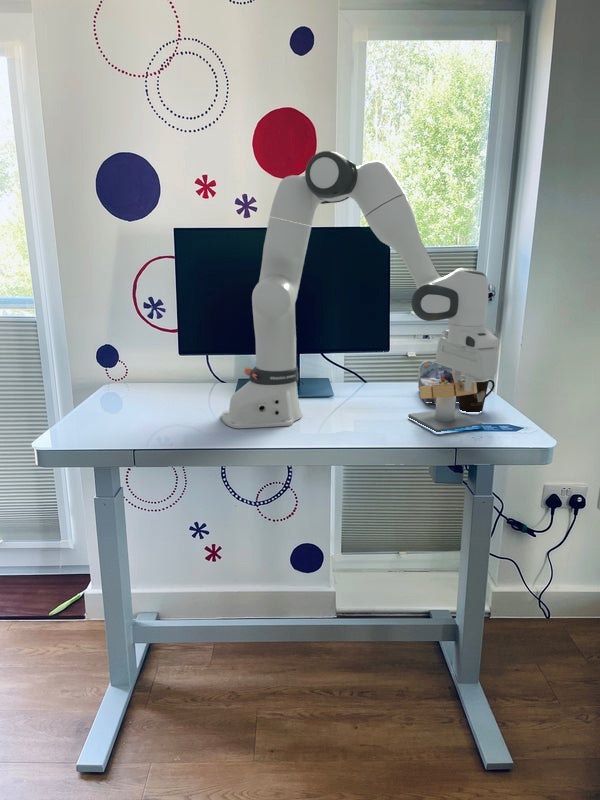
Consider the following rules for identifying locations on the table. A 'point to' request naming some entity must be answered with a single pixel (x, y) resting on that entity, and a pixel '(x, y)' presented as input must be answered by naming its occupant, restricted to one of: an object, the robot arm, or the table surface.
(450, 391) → the wooden ring
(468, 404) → the coffee mug
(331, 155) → the robot arm
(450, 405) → the piston stand
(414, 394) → the table surface
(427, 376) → the cell model
